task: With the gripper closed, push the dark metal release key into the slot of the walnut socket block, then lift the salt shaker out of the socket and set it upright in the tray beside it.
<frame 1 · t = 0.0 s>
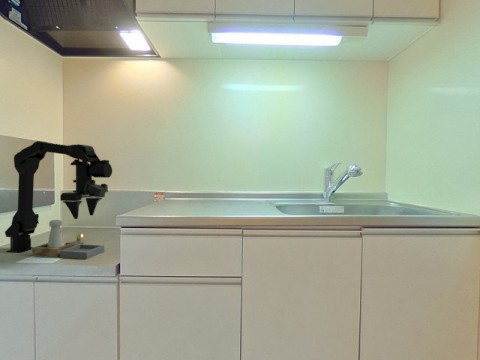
hand: (84, 217, 119), 15 cm above the countertop, tool pointing down, fingers open, 9 cm apart
release key: (75, 240, 132), point 2 cm above the countertop, slide at 0.0 cm
salt shaker: (55, 253, 121), resting in socket block
socket block: (55, 252, 121), on the countertop
tray: (83, 254, 119), on the countertop
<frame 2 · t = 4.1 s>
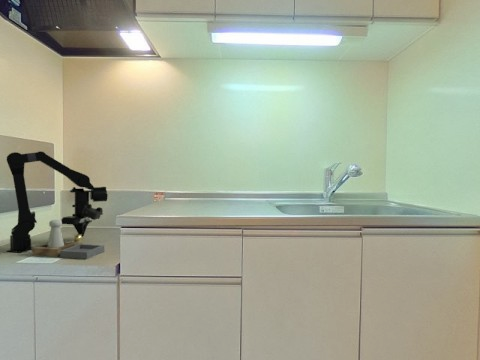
hand: (81, 236, 137), 3 cm above the countertop, tool pointing down, fingers closed
release key: (73, 241, 131), point 2 cm above the countertop, slide at 1.4 cm, touching gripper
everything else where it was.
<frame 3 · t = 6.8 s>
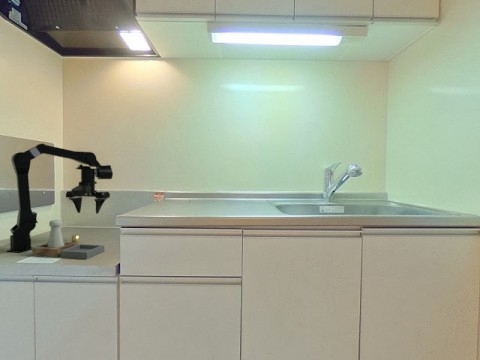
hand: (88, 213, 140), 13 cm above the countertop, tool pointing down, fingers open, 9 cm apart
release key: (70, 242, 129), point 2 cm above the countertop, slide at 3.0 cm
everything else where it was.
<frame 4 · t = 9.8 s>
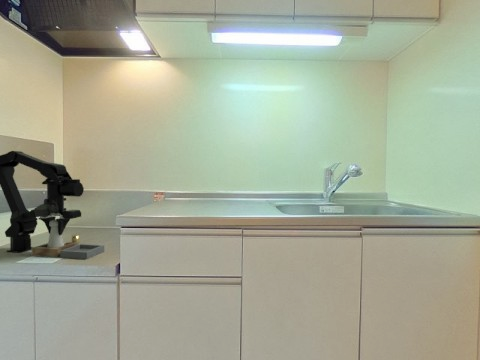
hand: (55, 235, 121), 7 cm above the countertop, tool pointing down, fingers closed on salt shaker, 3 cm apart
salt shaker: (55, 253, 121), resting in socket block, touching gripper
everything else where it was.
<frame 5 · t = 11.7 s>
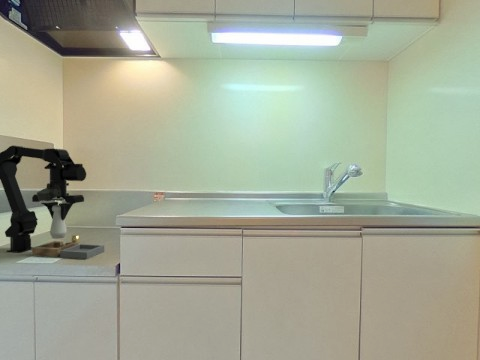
hand: (58, 220, 121), 13 cm above the countertop, tool pointing down, fingers closed on salt shaker, 3 cm apart
salt shaker: (58, 238, 121), point 6 cm above the countertop, touching gripper
everything else where it was.
when the fingers open (9 cm above the countertop, at t = 13.6 s): salt shaker drops 1 cm, resting on tray.
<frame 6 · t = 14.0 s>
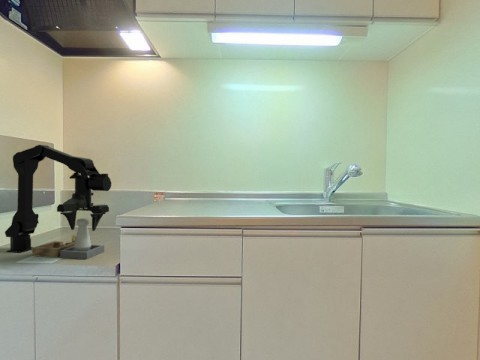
hand: (83, 230, 119), 9 cm above the countertop, tool pointing down, fingers open, 9 cm apart
salt shaker: (82, 252, 119), point 1 cm above the countertop, touching tray
everything else where it was.
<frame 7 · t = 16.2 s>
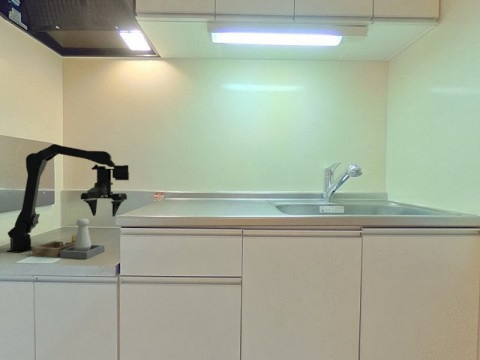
hand: (103, 216, 133), 13 cm above the countertop, tool pointing down, fingers open, 9 cm apart
nothing on the countertop moved.
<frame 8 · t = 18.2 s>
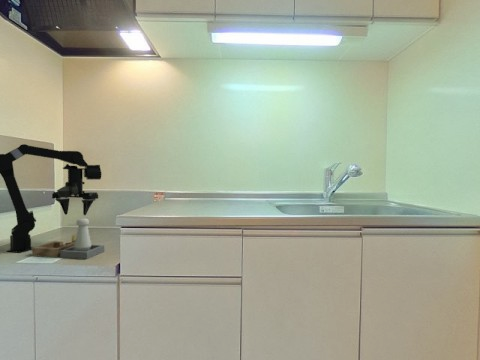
hand: (75, 214, 135), 13 cm above the countertop, tool pointing down, fingers open, 9 cm apart
nothing on the countertop moved.
at the end: release key slide at 3.0 cm; salt shaker 0.1 cm off-centre on the tray, point 0.8 cm above the tray's base; salt shaker tilted 0° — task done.
